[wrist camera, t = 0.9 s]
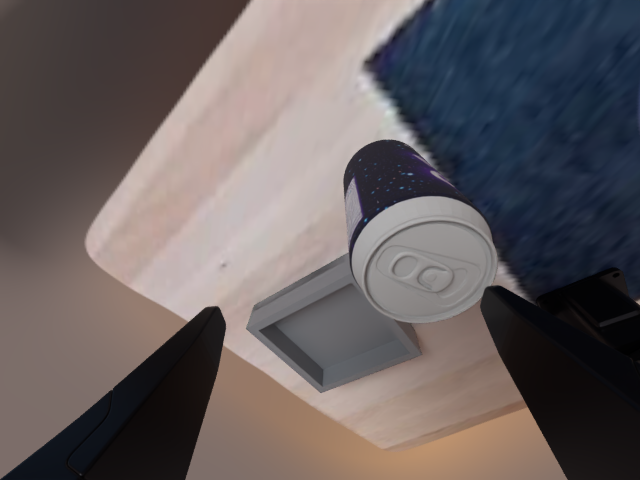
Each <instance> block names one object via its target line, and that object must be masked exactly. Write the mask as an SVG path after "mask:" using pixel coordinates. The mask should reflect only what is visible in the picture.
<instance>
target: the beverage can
mask: <svg viewBox="0 0 640 480" xmlns="http://www.w3.org/2000/svg"><path fill="white" fill-rule="evenodd" d="M344 196H345V209H346V222H347V235H348V248H349V261H350V268H351V272H352V275H353V277H354V279H355V281H356V283H357V284H358V286H359V287H360V288H361V289H362V290H363V291H364V294H365V296H366V298H367V299H368V301H369V302H370V303H371V305H372V306H373V307H374V308H375V309H377V310H378V311H379V312H381V313H382V314H384V315H385V316H388V317H390V318H392V319H395V320H398V321H402V322H407V323H432V322H438V321H442V320H446V319H449V318H451V317H454V316H456V315H458V314H460V313H462V312H464V311H466V310H467V309H469V308H471V307H472V306H473V305H474V304H476V303H477V302H478V301H479V300H480V299H481V298H482V296H483V292H484V289H485V288H486V287H487V286H491V285H492V283H493V281H494V279H495V276H496V272H497V266H498V259H497V253H496V249H495V247H494V244H493V242H492V233H491V229H490V226H489V224H488V222H487V220H486V218H485V217H484V215H483V214H482V213H481V211H480V210H479V209H478V208H476V207H475V206H474V205H473V204H472V203H471V202H470V201H469V200H468V199H467V198H466V197H465V196H464V195H462V194H461V193H460V192H459V191H458V190H457V189H456V188H455V187H454V186H453V185H452V184H451V183H449V182H448V181H447V180H446V179H445V178H444V177H443V176H442V175H441V174H440V173H439V172H438V171H437V170H435V169H434V168H433V167H432V166H431V165H430V164H429V163H428V162H427V161H426V160H425V159H424V158H422V157H421V156H420V155H419V154H418V153H417V152H416V151H415V150H414V149H413V148H411V147H410V146H409V145H407V144H405V143H403V142H400V141H396V140H380V141H375V142H373V143H370V144H368V145H366V146H364V147H363V148H361V149H360V150H359V151H358V152H357V153H356V154H355V155H354V156H353V157H352V159H351V160H350V162H349V163H348V165H347V168H346V170H345V174H344Z"/></svg>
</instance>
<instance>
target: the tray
mask: <svg viewBox="0 0 640 480" xmlns="http://www.w3.org/2000/svg"><path fill="white" fill-rule="evenodd" d="M246 329H247V330H248V331H249V332H250V333H251V334H253V335H254V336H255V337H256V338H257V339H258V340H260V341H261V342H262V343H263V344H264V345H265V346H267V347H268V348H269V349H270V350H271V351H272V352H274V353H275V354H276V355H277V356H278V357H279V358H281V359H282V360H283V361H284V362H285V363H286V364H288V365H289V366H290V367H291V368H292V369H293V370H295V371H296V372H297V373H298V374H299V375H300V376H302V377H303V378H304V379H305V380H306V381H307V382H309V383H310V384H311V385H312V386H313V387H314V388H316V389H317V390H318V391H319V392H320V393H322V392H325V391H328V390H330V389H333V388H336V387H338V386H341V385H344V384H346V383H349V382H352V381H354V380H357V379H360V378H362V377H365V376H367V375H370V374H373V373H375V372H378V371H381V370H383V369H386V368H389V367H391V366H394V365H397V364H399V363H402V362H405V361H407V360H410V359H413V358H415V357H418V356H420V355H422V353H421V350H420V346H419V343H418V340H417V337H416V334H415V330H414V329H413V327H412V326H411V325H410V323H407V322H402V321H398V320H395V319H392V318H390V317H388V316H385V315H384V314H382V313H381V312H379V311H378V310H377V309H375V308H374V307H373V306H372V305H371V303H370V302H369V301H368V299H367V298H366V296H365V294H364V291H363V290H362V289H361V288H360V287H359V286H358V284H357V283H356V281H355V279H354V277H353V275H352V272H351V268H350V261H349V253H347V254H345V255H343V256H341V257H340V258H338V259H336V260H334V261H333V262H331V263H329V264H327V265H325V266H324V267H322V268H320V269H318V270H316V271H315V272H313V273H311V274H309V275H308V276H306V277H304V278H302V279H300V280H299V281H297V282H295V283H293V284H291V285H290V286H288V287H286V288H284V289H283V290H281V291H279V292H277V293H275V294H274V295H272V296H270V297H268V298H266V299H265V300H263V301H261V302H259V303H258V304H256V305H254V307H253V310H252V313H251V316H250V319H249V322H248V324H247V327H246Z"/></svg>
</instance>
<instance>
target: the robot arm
mask: <svg viewBox="0 0 640 480" xmlns="http://www.w3.org/2000/svg"><path fill="white" fill-rule="evenodd" d="M536 301H537V304H538V306H539V307H538V306H536V305H534V304H532V303H531V302H529V301H527V300H525V299H523V298H522V297H520V296H518V295H516V294H514V293H513V292H511V291H509V290H507V289H505V288H504V287H502V286H498V285H496V286H487V287H486V288H485V289H484V292H483V296H482V300H481V304H480V308H481V312H482V315H483V317H484V319H485V322H486V324H487V327H488V329H489V331H490V334H491V336H492V339H493V341H494V343H495V346H496V348H497V350H498V353H499V355H500V357H501V359H502V361H503V362H504V364H505V366H506V368H507V370H508V372H509V373H510V375H511V377H512V379H513V381H514V383H515V384H516V386H517V388H518V390H519V392H520V394H521V395H522V397H523V399H524V401H525V403H526V405H527V406H528V408H529V410H530V412H531V413H532V415H533V417H534V419H535V421H536V423H537V425H538V426H539V428H540V430H541V432H542V434H543V436H544V437H545V439H546V441H547V442H548V445H549V446H550V448H551V450H552V452H553V454H554V455H555V458H556V459H557V461H558V463H559V465H560V467H561V468H562V470H563V472H564V474H565V476H566V477H567V479H568V480H640V305H639V304H638V303H636V302H635V301H634V300H632V299H631V298H630V297H629V294H628V290H627V286H626V282H625V278H624V274H623V272H622V271H621V270H620V269H618V268H610V269H608V270H605V271H603V272H600V273H598V274H595V275H593V276H590V277H588V278H585V279H583V280H580V281H577V282H575V283H572V284H570V285H567V286H565V287H562V288H560V289H557V290H555V291H552V292H549V293H547V294H544V295H542V296H540V297H538V298H537V300H536ZM225 331H226V323H225V320H224V317H223V315H222V312H221V310H220V308H219V307H218V306H212V307H206V308H204V309H203V310H202V311H201V312H200V313H199V314H198V315H196V316H195V317H194V318H193V319H192V320H191V321H189V322H188V323H187V324H186V325H185V326H184V327H183V328H181V329H180V330H179V331H178V332H177V333H176V334H175V335H174V336H172V337H171V338H170V339H169V340H168V341H167V342H165V344H163V345H162V346H161V347H160V348H159V349H157V350H156V351H155V352H154V353H153V354H152V355H151V356H149V357H148V358H147V359H146V360H145V361H144V362H143V363H141V364H140V365H139V366H138V367H137V368H136V369H135V370H133V371H132V372H131V373H130V374H129V375H128V376H127V377H125V378H124V379H123V380H122V381H121V382H120V383H118V384H117V385H116V386H115V387H114V388H113V390H111V391H109V392H108V393H107V394H106V395H105V396H104V397H102V398H101V399H100V400H99V401H98V402H97V403H96V404H94V405H93V406H92V407H91V408H90V409H88V410H87V411H86V412H85V413H84V414H83V415H81V416H80V417H79V418H78V419H76V420H75V421H74V422H73V423H71V424H70V425H69V426H68V427H66V428H65V429H64V430H63V431H62V432H60V433H59V434H58V435H56V436H55V437H54V438H53V439H51V440H50V441H49V442H47V443H46V444H45V445H44V446H43V447H41V448H40V449H39V450H37V451H36V452H35V453H33V454H32V455H31V456H30V457H28V458H27V459H26V460H24V461H23V462H22V463H21V464H20V465H18V466H17V467H16V468H14V469H13V470H12V471H10V472H9V473H8V474H7V475H5V476H4V477H3V478H1V479H0V480H185V479H186V475H187V472H188V469H189V465H190V462H191V459H192V455H193V452H194V449H195V445H196V442H197V438H198V435H199V432H200V429H201V425H202V422H203V419H204V416H205V412H206V409H207V405H208V402H209V399H210V395H211V392H212V389H213V386H214V382H215V379H216V375H217V372H218V367H219V363H220V357H221V351H222V347H223V341H224V336H225Z"/></svg>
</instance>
